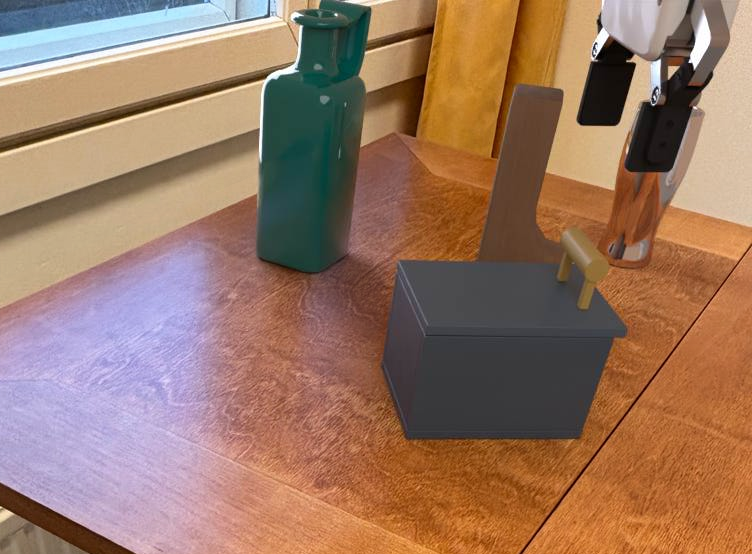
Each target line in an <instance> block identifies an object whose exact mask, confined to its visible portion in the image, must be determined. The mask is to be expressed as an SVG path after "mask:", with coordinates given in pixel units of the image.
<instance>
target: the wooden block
mask: <svg viewBox="0 0 752 554" xmlns="http://www.w3.org/2000/svg"><path fill="white" fill-rule="evenodd" d="M564 93H565V92H564V90H563V89H562V88H559V87H558V88H557V87H551V86H542V85H534V84H527V83H517V84H515V86H514V87H513V92H512V95H511V98H510V103H509V108H508V113H507V116H506V117H507V118H506V122H505V127H504V132H503V137H502V141H501V146H500V150H499V154H498V160H497V165H496V169H495V173H494V177H493V182H492V187H491V192H490V196H489V200H488V205H487V210H486V215H485V220H484V224H483V229H482V233H481V238H480V243H479V248H478V251H477V255H476V261H475V262H517V263H560V264H561V261H562V257H563V254H564V249H563V248H562V247H561V245H560V242H557V241H555V240H552V239H550V238H547V237H546V236H545V234H544V232H543V231H542V230H541V228H540V226H539V225H538V223H537V209H538V204H539V199H540V195H541V192H542V187H543V184H544V180H545V175H546V172H547V167H548V165H549V164H548V163H549V160H550V156H551V151H552V148H553V144H554V141H555V136H556V133H557V129H558V124H559V121H560V117H561V113H562V109H563V105H564V97H565V94H564Z"/></svg>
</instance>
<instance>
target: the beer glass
mask: <svg viewBox="0 0 752 554" xmlns="http://www.w3.org/2000/svg"><path fill="white" fill-rule="evenodd" d="M642 102H650V98H649V99H644V100H641V101H639V102H638V105H637V109H636V111H635V114H634V116H633V119H632V122H631V124H630V127H629V130H628V132H627V134H626V137H625V140H624V144H623V147H622V150H621V155H620V156H619V157H620V158H619V162H618V167H617V172H616V176H615V177H616V178H615V184H614V190H613V197H612V198H613V199H612V203H611V211H610V214H609V218H608V221H607V225H606V226H605V227H606V228H605V230H604V232H603V234H602V236H601V238H600V239H599V242H598V244H597V245H596V248H597V249H598V250H599V251H600V253H601V254H602V255H603V256H604V257H605V259H606V260H607V261H608V263H609V265H611V266H615V267H619V268H624V269H641V268H644V267H646V266H648V265H649V264H650V263H651V260H652V258H653V257H652V256H653V250H654V245H655V240H656V236H657V232H658V229H659V227H660V225H661V222H662V221H663V218H664V217H665V214H666V213H667V210H668V209H669V207H670V205H671V203H672V202H673V199H674V198H675V196H676V194H677V192H678V190H679V189H680V186H681V184H682V182H683V181H684V178H685V176H686V174H687V171H688V169H689V166H690V164H691V162H692V159H693V156H694V153H695V150H696V147H697V144H698V140H699V136H700V133H701V130H702V125H703V122H704V118H705V116H706V112H705V110H704V109H702V108H701V107H698V105H697V106H695V107H693V109H692V112H691V115H690V118H689V121H688V124H687V127H686V130H685V133H684V136H683V139H682V142H681V145H680V148H679V151H678V154H677V157H676V160H675V163H674V166H673V168H672V170H670V171H669V172H666V173H663V172H629V171H628V170H627V169H626V168H625V167H624V163H625V160H626V156H627V153H628V150H629V146H630V143H631V140H632V136H633V133H634V129H635V126H636V123H637V119H638V116H639V112H640V109H641V106H642Z"/></svg>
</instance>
